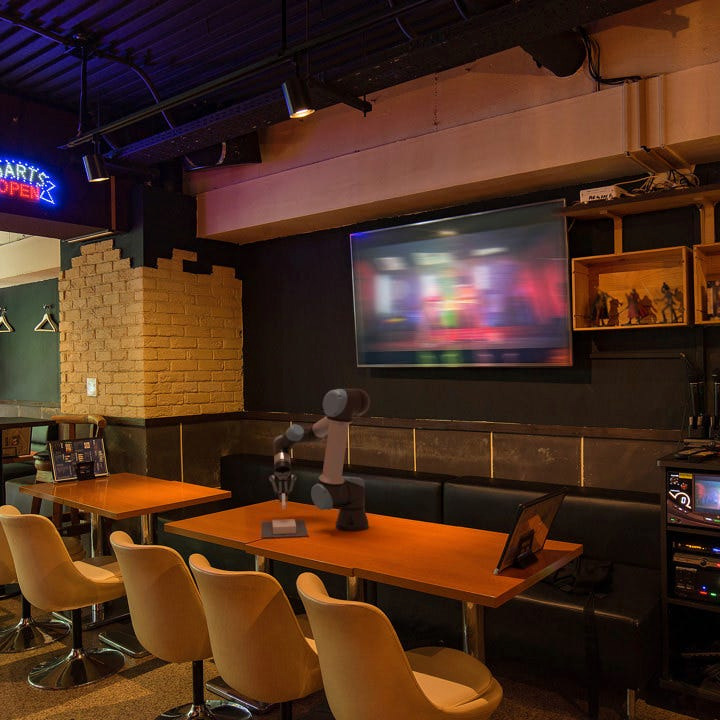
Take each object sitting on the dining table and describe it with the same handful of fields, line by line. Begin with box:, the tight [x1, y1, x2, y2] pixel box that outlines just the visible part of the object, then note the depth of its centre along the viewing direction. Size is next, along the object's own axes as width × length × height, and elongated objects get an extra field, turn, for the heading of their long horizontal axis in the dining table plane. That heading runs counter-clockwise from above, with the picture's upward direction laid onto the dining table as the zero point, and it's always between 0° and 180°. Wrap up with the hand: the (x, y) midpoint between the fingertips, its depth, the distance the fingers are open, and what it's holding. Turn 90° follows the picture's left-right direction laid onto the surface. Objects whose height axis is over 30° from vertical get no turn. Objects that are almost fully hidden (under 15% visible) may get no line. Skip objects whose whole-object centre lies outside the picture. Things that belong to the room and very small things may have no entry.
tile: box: [272, 518, 296, 535], centre depth 302 cm, size 3×10×15 cm
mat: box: [260, 519, 309, 540], centre depth 307 cm, size 30×20×1 cm, turn 8°
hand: (283, 507), depth 304 cm, fingers closed
